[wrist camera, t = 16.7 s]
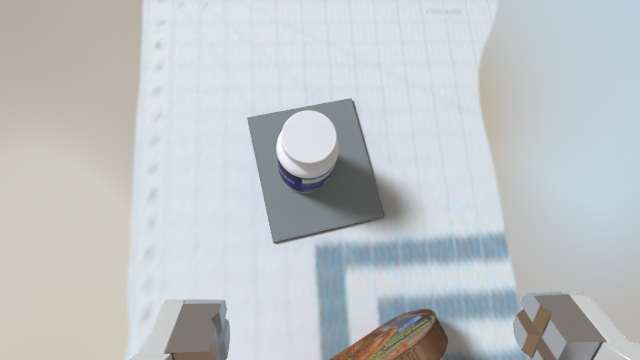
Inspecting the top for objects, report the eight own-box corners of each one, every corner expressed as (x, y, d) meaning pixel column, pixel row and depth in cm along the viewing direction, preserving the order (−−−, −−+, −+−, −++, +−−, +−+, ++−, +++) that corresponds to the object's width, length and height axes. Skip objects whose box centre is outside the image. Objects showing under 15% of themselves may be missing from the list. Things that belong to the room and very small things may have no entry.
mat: (383, 216, 41) (384, 216, 41) (273, 242, 39) (273, 242, 39) (350, 99, 44) (351, 98, 44) (247, 119, 43) (247, 117, 42)
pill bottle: (270, 154, 41) (264, 116, 32) (318, 136, 42) (327, 94, 33) (290, 202, 40) (290, 178, 31) (339, 183, 41) (354, 154, 31)
